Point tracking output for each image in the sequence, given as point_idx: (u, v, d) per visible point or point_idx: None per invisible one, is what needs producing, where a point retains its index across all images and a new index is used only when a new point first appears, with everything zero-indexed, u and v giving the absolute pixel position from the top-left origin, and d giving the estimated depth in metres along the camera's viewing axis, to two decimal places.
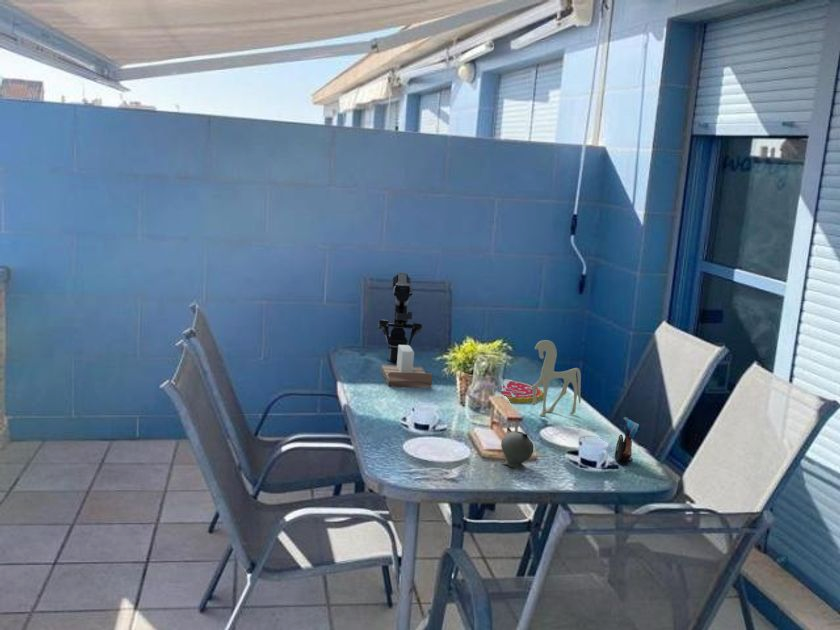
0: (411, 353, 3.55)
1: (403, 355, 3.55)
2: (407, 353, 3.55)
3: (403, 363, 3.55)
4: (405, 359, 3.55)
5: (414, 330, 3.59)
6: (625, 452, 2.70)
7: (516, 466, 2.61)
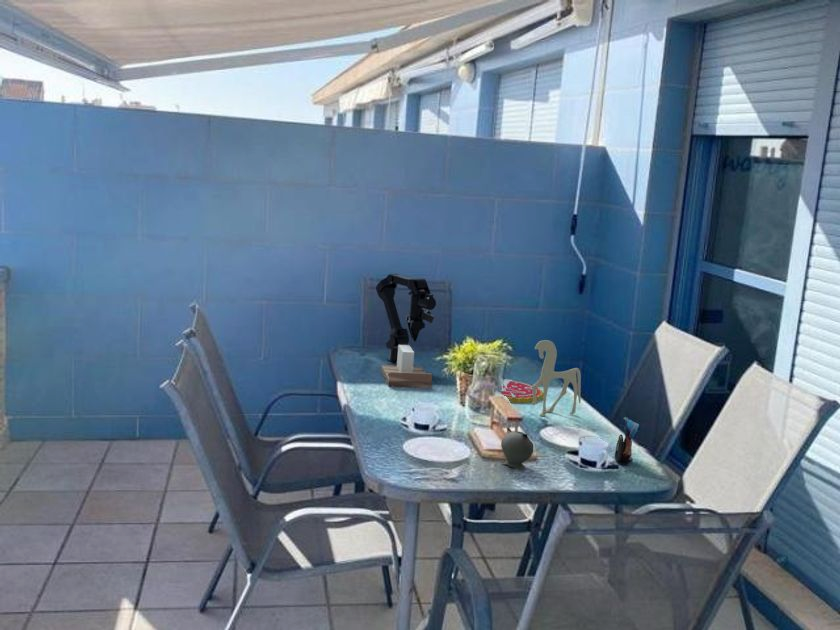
0: (411, 353, 3.55)
1: (403, 355, 3.55)
2: (407, 353, 3.55)
3: (403, 363, 3.55)
4: (405, 359, 3.55)
5: None
6: (625, 452, 2.70)
7: (516, 466, 2.61)
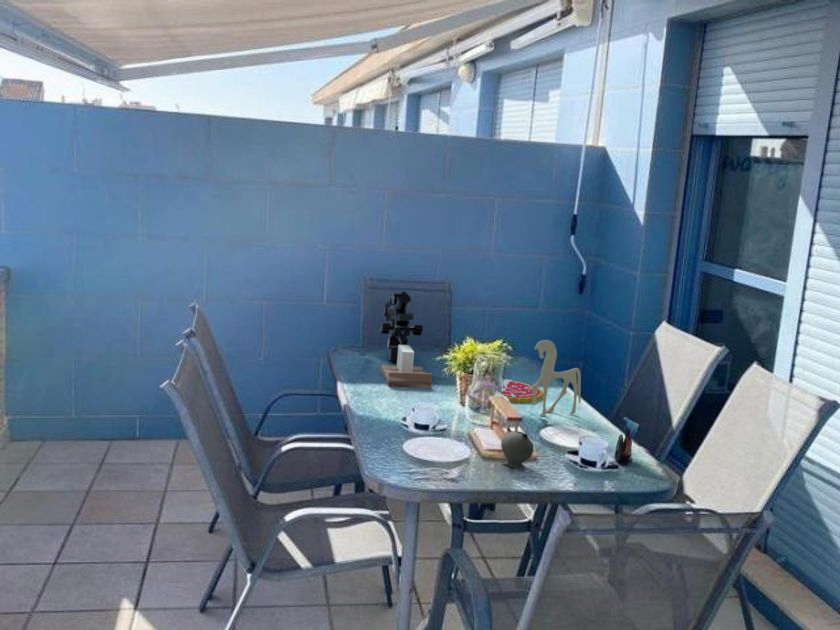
0: (411, 353, 3.55)
1: (403, 355, 3.55)
2: (407, 353, 3.55)
3: (403, 363, 3.55)
4: (405, 359, 3.55)
5: (406, 330, 3.74)
6: (625, 452, 2.70)
7: (516, 466, 2.61)
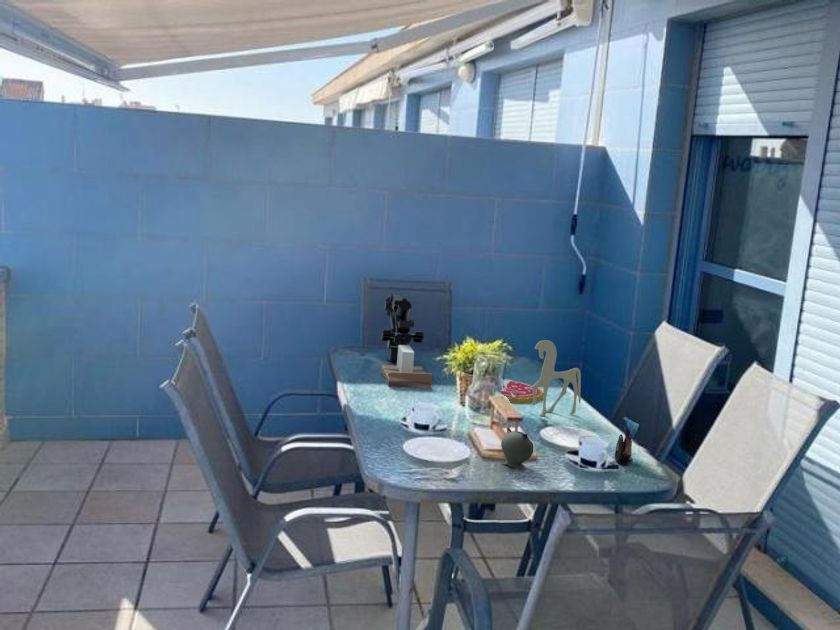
0: (411, 353, 3.55)
1: (403, 355, 3.55)
2: (407, 353, 3.55)
3: (403, 363, 3.55)
4: (405, 359, 3.55)
5: (407, 337, 3.71)
6: (625, 452, 2.70)
7: (516, 466, 2.61)
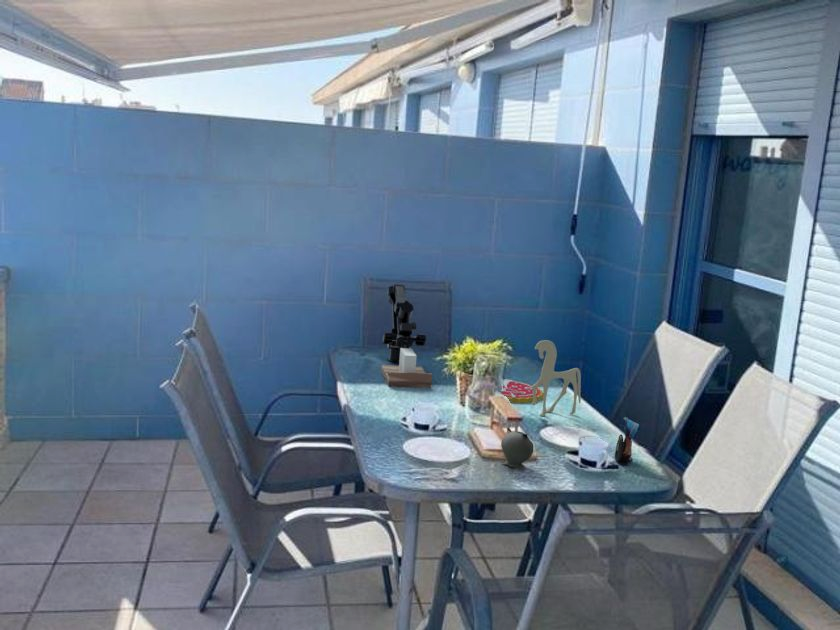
0: (413, 356, 3.49)
1: (405, 358, 3.49)
2: (409, 356, 3.49)
3: (405, 367, 3.49)
4: (407, 363, 3.49)
5: (409, 340, 3.65)
6: (625, 452, 2.70)
7: (516, 466, 2.61)
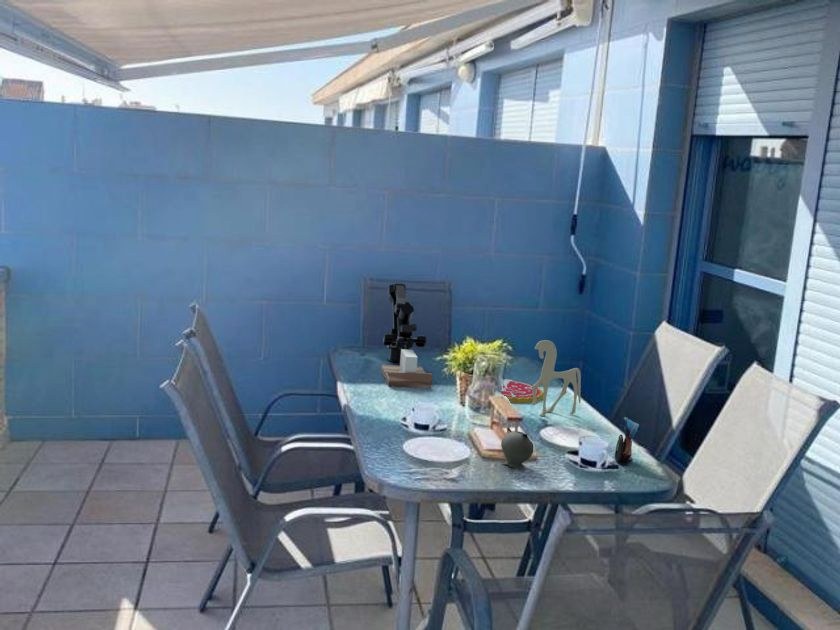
0: (414, 358, 3.47)
1: (406, 360, 3.46)
2: (410, 358, 3.46)
3: (406, 368, 3.47)
4: (408, 364, 3.47)
5: (409, 342, 3.64)
6: (625, 452, 2.70)
7: (516, 466, 2.61)
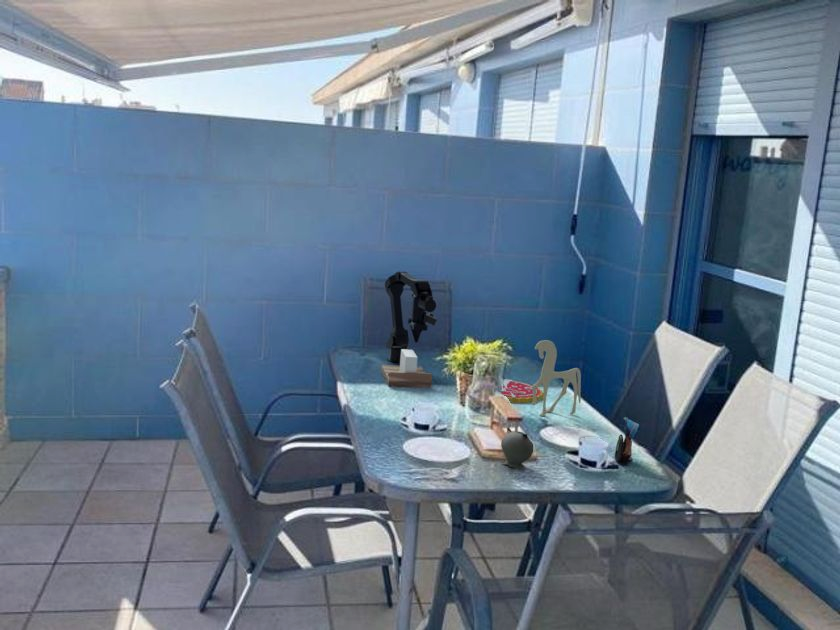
0: (414, 358, 3.47)
1: (406, 360, 3.46)
2: (410, 358, 3.46)
3: (406, 368, 3.47)
4: (408, 364, 3.47)
5: None
6: (625, 452, 2.70)
7: (516, 466, 2.61)
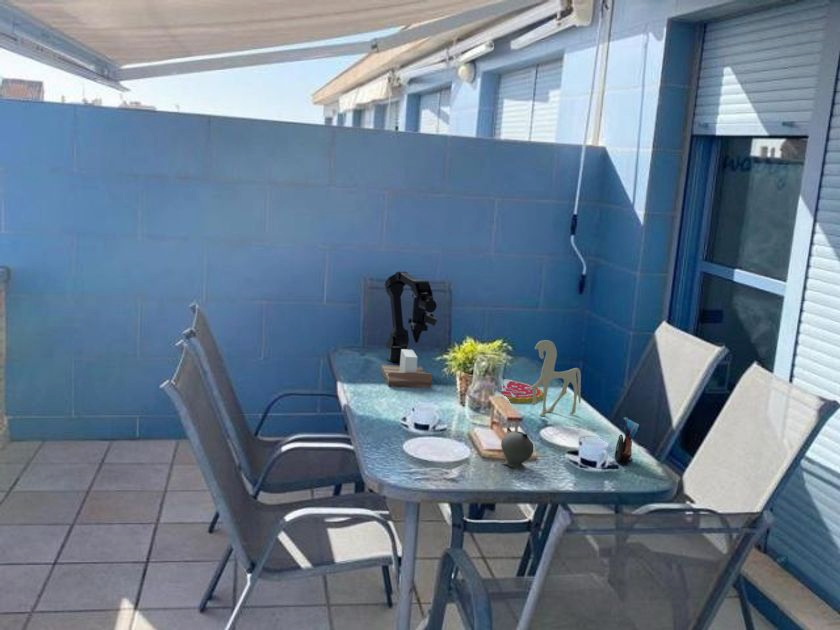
0: (414, 358, 3.47)
1: (406, 360, 3.46)
2: (410, 358, 3.46)
3: (406, 368, 3.47)
4: (408, 364, 3.47)
5: None
6: (625, 452, 2.70)
7: (516, 466, 2.61)
